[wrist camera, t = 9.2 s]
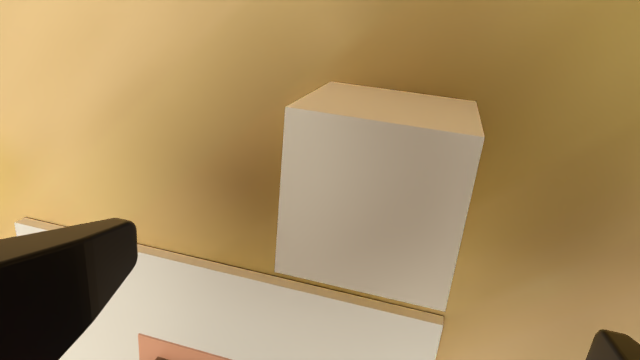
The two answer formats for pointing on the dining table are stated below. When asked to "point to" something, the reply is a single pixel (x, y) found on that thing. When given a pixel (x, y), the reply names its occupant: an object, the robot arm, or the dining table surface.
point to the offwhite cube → (377, 190)
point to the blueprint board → (242, 316)
